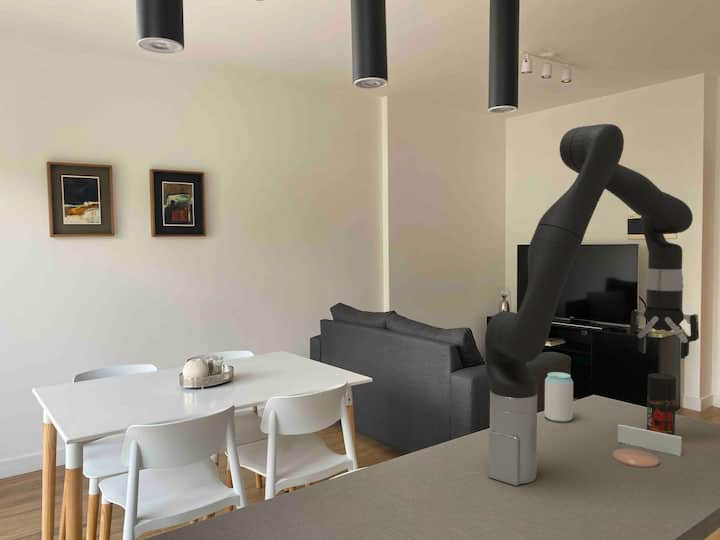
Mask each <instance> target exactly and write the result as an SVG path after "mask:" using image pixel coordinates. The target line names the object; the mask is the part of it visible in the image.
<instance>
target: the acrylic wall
mask: <svg viewBox="0 0 720 540" xmlns="http://www.w3.org/2000/svg"><path fill="white" fill-rule="evenodd" d="M682 439H683V437H682V436H678V435H675V436H674V435H670V434H665V433H660V432H655V431H650V430H647V429H644V428H639V427H634V426H631V425H630V426H629V425H626V424H625V425H624V424H617V443H620V442H621V444H624V443H625V444H626V445H629V444H630V446H633V445H634V446H633V447H638V446H639V447H638V448H642V447H643V449H647V450H653V451H657V452H661V453H664V454H665V453H666V454H669V455H675V456H678V457H681V456H682V447H683V446H682V444H683V443H682V442H683V441H682Z"/></svg>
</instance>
